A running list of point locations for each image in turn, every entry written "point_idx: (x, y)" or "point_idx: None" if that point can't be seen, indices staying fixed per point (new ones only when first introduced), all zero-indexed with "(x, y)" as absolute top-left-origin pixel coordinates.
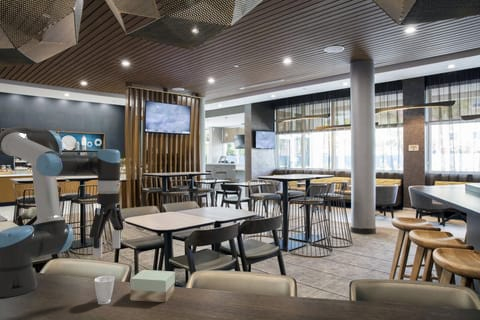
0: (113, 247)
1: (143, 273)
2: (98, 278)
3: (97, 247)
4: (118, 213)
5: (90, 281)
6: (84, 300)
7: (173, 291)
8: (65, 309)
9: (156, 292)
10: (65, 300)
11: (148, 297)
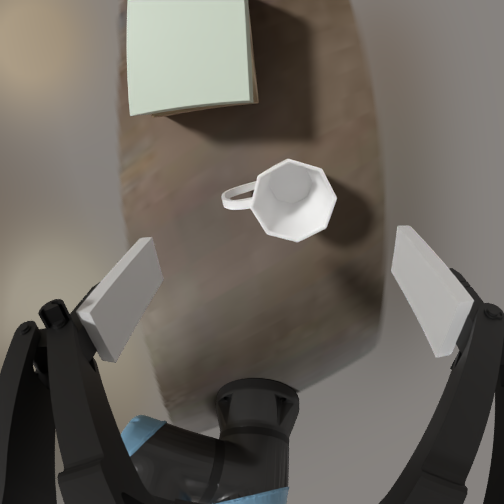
0: (160, 275)
1: (172, 83)
2: (283, 233)
3: (457, 272)
4: (13, 465)
5: (156, 302)
6: (288, 243)
7: None
8: (352, 257)
9: None
10: (296, 290)
11: (251, 41)
